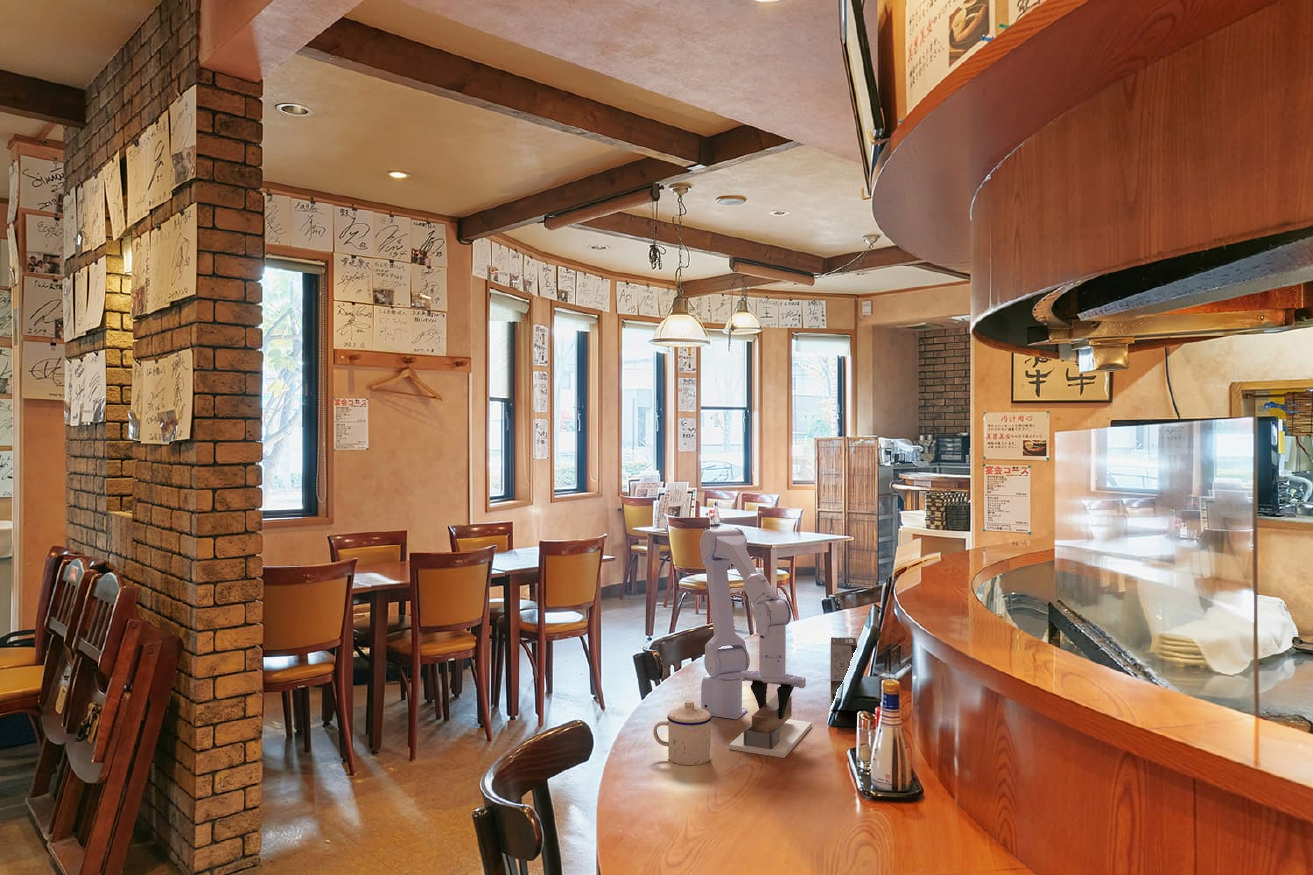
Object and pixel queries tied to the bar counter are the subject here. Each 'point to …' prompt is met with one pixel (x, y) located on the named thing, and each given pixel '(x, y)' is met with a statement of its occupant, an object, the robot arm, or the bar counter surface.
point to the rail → (770, 716)
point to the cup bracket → (772, 739)
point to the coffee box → (840, 661)
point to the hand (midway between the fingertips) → (772, 716)
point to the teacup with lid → (687, 734)
